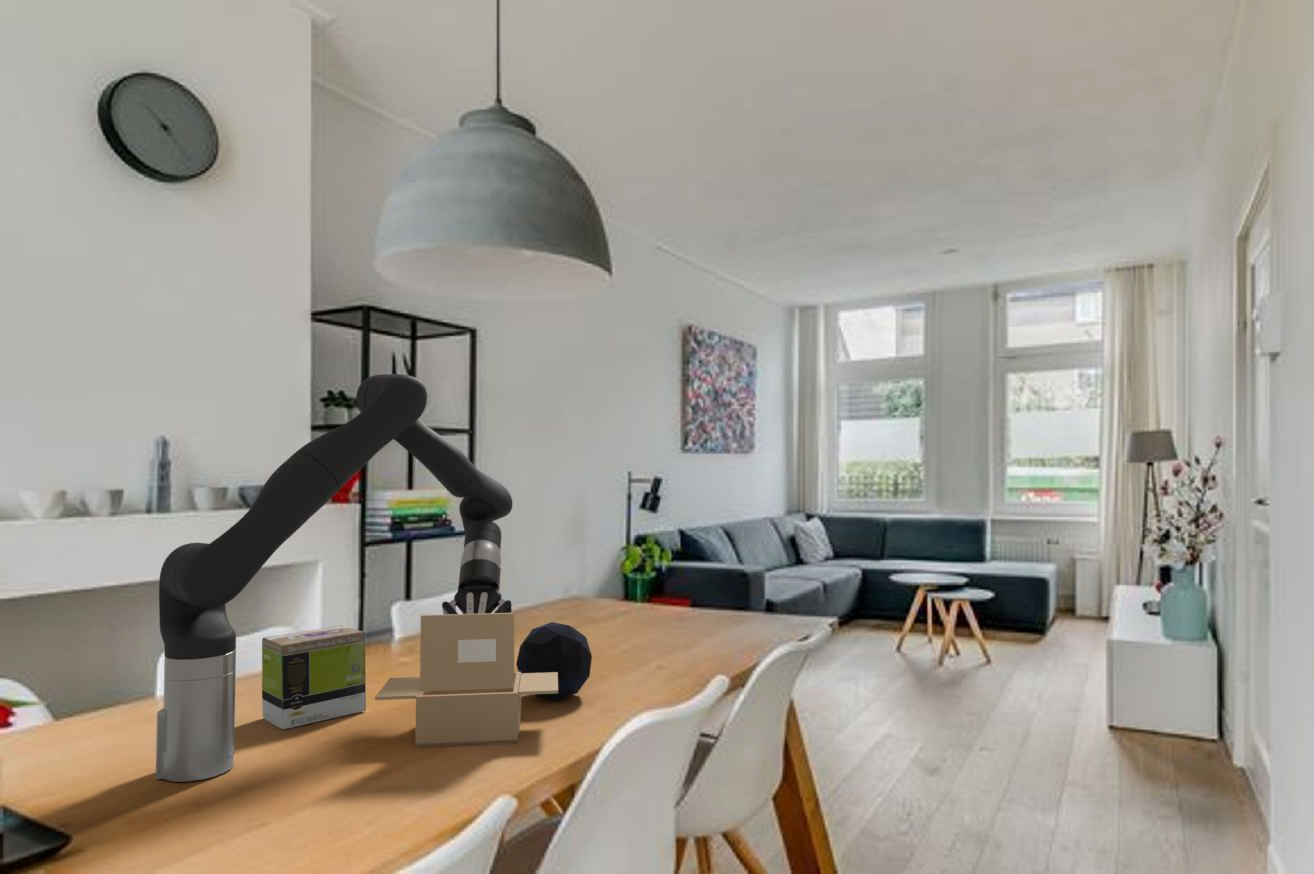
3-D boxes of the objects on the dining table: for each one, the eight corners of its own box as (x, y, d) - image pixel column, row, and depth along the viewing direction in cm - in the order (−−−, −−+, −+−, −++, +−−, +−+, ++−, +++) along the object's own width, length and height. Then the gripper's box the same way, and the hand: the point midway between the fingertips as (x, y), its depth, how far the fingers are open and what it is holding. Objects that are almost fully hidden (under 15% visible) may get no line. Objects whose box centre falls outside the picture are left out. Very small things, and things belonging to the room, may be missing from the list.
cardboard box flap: (419, 691, 130) (420, 615, 130) (420, 690, 130) (421, 614, 131) (513, 688, 132) (514, 613, 132) (514, 687, 132) (514, 612, 133)
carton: (373, 749, 128) (373, 698, 129) (391, 721, 143) (391, 675, 143) (558, 741, 132) (558, 691, 132) (557, 714, 147) (557, 669, 147)
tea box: (343, 701, 155) (344, 623, 156) (366, 712, 148) (367, 630, 149) (260, 718, 145) (261, 635, 145) (280, 731, 138) (282, 643, 138)
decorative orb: (507, 660, 165) (515, 608, 157) (578, 654, 170) (590, 604, 162) (516, 720, 154) (526, 667, 146) (593, 711, 159) (606, 660, 151)
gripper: (442, 557, 151) (432, 638, 138) (515, 556, 152) (511, 636, 140) (446, 582, 156) (436, 662, 143) (516, 581, 157) (512, 660, 145)
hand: (473, 649), depth 141 cm, fingers closed
